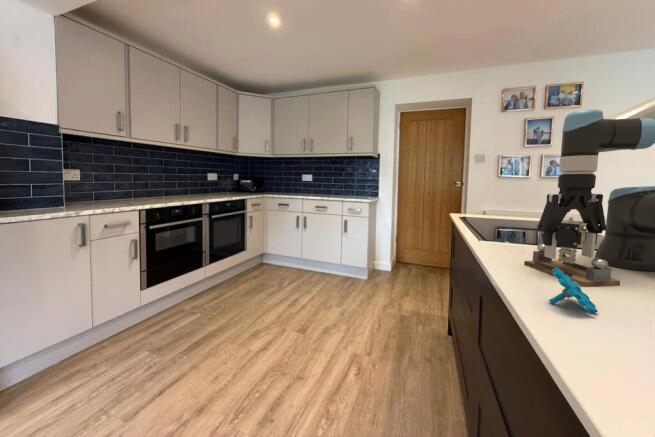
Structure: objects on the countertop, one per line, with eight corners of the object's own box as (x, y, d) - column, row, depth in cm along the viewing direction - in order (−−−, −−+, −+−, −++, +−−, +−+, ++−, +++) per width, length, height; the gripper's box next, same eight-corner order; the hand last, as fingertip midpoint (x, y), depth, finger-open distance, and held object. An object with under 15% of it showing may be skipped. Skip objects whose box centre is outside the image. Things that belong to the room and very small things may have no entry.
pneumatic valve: (551, 264, 79) (555, 218, 78) (560, 256, 87) (564, 215, 86) (578, 268, 75) (583, 220, 74) (585, 260, 83) (589, 216, 82)
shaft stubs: (546, 260, 91) (547, 243, 90) (610, 281, 72) (612, 260, 72) (532, 260, 91) (534, 243, 90) (593, 281, 72) (595, 260, 71)
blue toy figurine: (600, 315, 53) (555, 267, 58) (567, 330, 56) (526, 283, 61) (602, 305, 61) (562, 263, 66) (573, 319, 64) (537, 278, 69)
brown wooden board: (553, 264, 91) (554, 257, 91) (619, 285, 73) (620, 276, 72) (524, 264, 91) (524, 257, 90) (582, 286, 72) (583, 278, 72)
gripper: (602, 173, 83) (594, 252, 86) (525, 173, 81) (518, 254, 84) (632, 173, 76) (621, 259, 78) (547, 172, 74) (539, 261, 76)
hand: (568, 257), depth 81 cm, fingers closed on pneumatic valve, 10 cm apart
